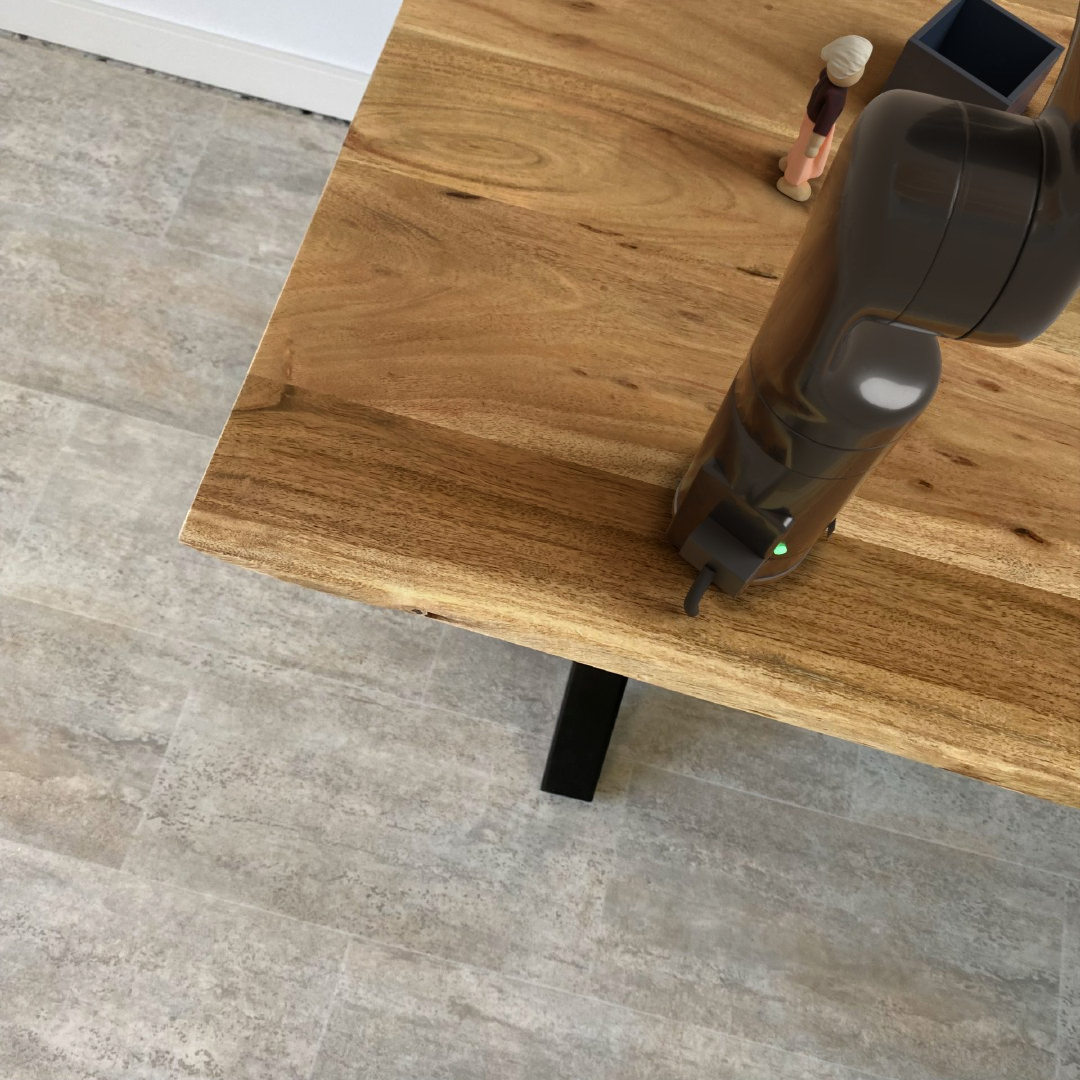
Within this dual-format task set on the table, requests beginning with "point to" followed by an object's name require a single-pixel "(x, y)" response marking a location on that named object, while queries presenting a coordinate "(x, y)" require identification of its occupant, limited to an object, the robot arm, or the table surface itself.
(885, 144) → the robot arm
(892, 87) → the bin
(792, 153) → the grandmother figurine
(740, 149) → the table surface
